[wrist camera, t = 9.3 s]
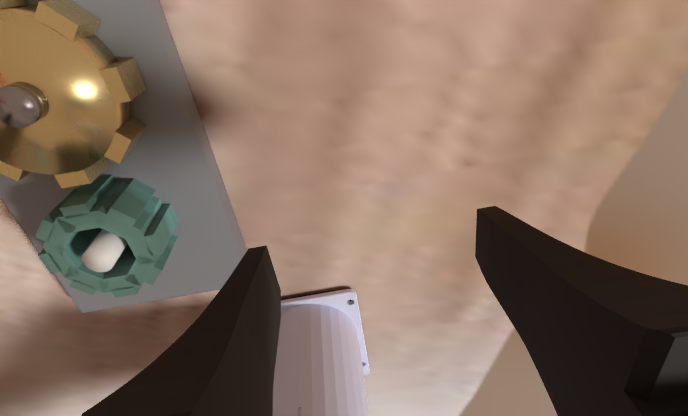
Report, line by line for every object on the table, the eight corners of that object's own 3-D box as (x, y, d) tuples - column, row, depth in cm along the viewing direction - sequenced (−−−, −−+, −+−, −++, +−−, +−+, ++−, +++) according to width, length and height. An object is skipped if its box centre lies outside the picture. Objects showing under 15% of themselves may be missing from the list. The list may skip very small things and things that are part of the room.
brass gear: (173, 154, 20) (154, 180, 18) (17, 181, 20) (-24, 211, 18) (98, -29, 16) (59, -29, 13) (-99, 6, 16) (-175, 12, 13)
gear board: (253, 268, 26) (244, 326, 22) (92, 296, 26) (52, 359, 22) (142, -46, 17) (89, -52, 13) (-107, -3, 17) (-244, 6, 13)
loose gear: (192, 252, 24) (178, 286, 21) (98, 268, 24) (73, 305, 21) (154, 167, 21) (133, 195, 18) (47, 185, 21) (10, 216, 18)
